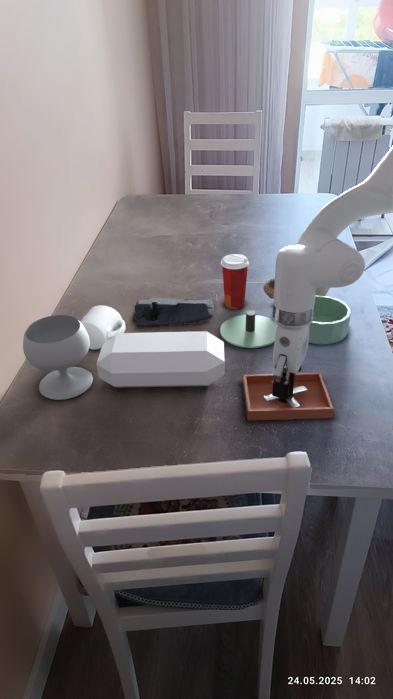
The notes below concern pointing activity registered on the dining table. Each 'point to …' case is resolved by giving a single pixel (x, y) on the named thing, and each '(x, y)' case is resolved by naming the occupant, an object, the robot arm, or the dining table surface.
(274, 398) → the blade
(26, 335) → the chalice
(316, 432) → the dining table surface
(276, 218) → the dining table surface
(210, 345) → the crystal
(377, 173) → the robot arm
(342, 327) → the bowl
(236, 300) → the paper cup
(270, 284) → the acorn
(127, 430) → the dining table surface
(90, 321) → the mug
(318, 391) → the tray
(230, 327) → the lid
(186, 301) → the dark slate chunk
